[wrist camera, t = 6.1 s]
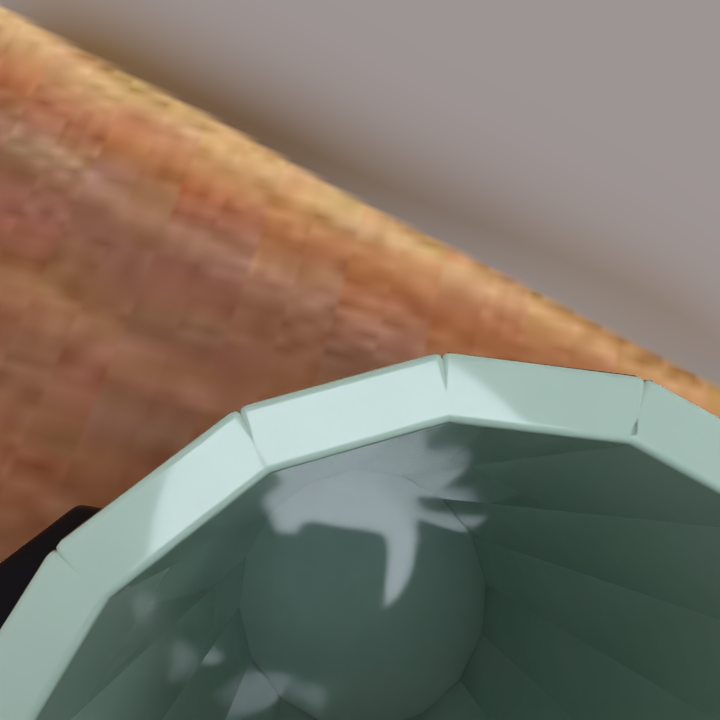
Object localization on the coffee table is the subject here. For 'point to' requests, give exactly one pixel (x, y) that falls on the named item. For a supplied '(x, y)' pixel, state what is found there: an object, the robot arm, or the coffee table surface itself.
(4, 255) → the coffee table surface
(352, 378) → the cup
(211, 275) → the coffee table surface
